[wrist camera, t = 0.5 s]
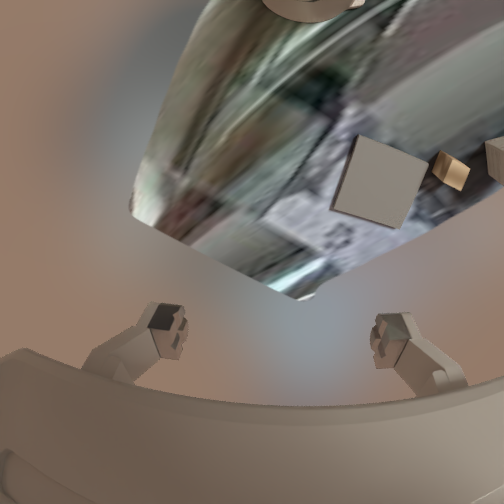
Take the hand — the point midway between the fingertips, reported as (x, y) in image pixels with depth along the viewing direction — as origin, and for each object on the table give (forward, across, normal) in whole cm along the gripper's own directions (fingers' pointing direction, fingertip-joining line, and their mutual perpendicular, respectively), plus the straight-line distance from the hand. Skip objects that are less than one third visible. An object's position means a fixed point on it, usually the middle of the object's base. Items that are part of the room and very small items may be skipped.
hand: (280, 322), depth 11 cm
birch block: (+37, -30, -2) cm, 48 cm away
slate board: (+38, -18, +4) cm, 42 cm away
